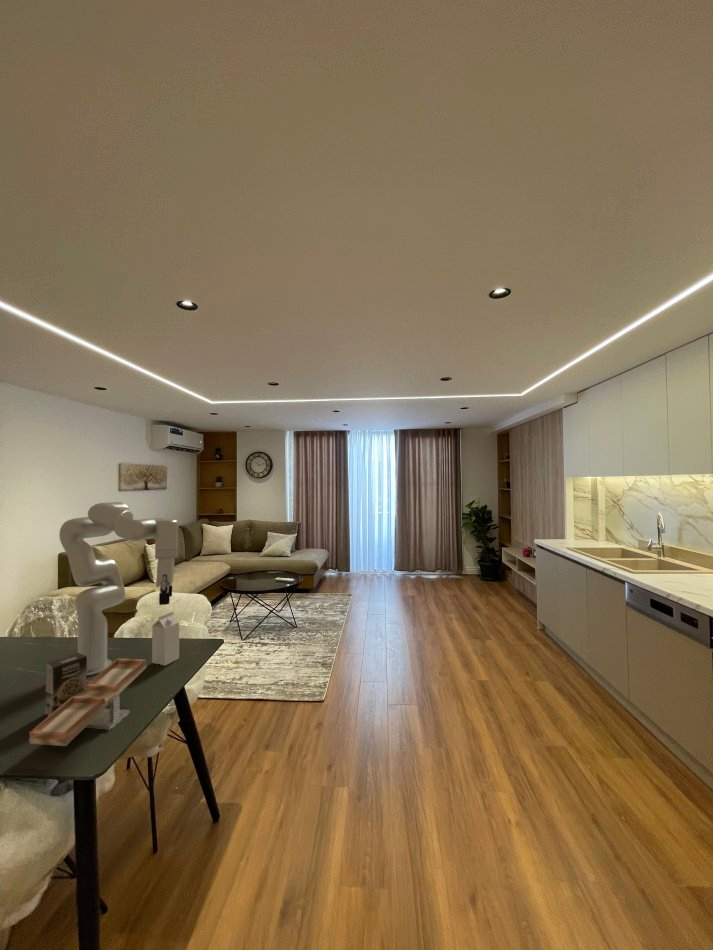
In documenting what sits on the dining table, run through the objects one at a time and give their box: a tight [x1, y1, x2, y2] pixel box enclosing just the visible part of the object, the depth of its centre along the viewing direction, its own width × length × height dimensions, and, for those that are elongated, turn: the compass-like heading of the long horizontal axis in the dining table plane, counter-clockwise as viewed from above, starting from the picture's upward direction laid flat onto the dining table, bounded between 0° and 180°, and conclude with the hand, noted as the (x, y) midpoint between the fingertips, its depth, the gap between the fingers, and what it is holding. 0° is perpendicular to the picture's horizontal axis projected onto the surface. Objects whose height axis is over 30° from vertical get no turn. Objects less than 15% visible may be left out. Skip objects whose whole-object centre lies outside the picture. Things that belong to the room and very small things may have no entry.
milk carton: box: [151, 611, 180, 667], centre depth 154 cm, size 7×7×19 cm
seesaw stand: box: [75, 693, 130, 731], centre depth 115 cm, size 16×8×7 cm, turn 83°
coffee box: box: [44, 652, 87, 717], centre depth 120 cm, size 9×6×16 cm
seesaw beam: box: [28, 657, 147, 747], centre depth 114 cm, size 11×32×4 cm, turn 173°
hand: (165, 600), depth 137 cm, fingers open, 9 cm apart
